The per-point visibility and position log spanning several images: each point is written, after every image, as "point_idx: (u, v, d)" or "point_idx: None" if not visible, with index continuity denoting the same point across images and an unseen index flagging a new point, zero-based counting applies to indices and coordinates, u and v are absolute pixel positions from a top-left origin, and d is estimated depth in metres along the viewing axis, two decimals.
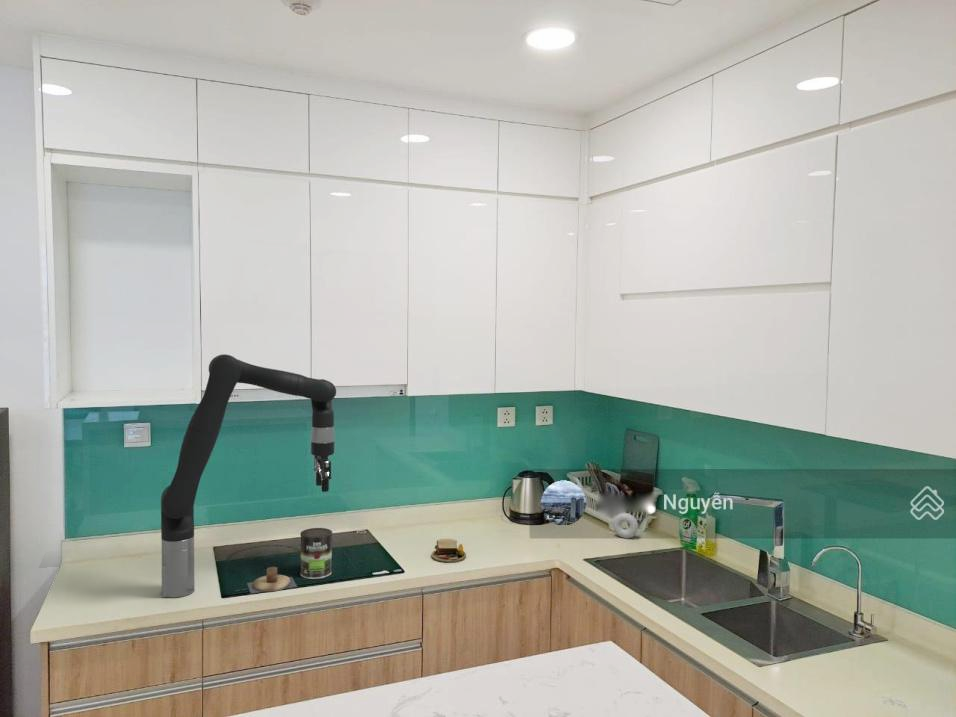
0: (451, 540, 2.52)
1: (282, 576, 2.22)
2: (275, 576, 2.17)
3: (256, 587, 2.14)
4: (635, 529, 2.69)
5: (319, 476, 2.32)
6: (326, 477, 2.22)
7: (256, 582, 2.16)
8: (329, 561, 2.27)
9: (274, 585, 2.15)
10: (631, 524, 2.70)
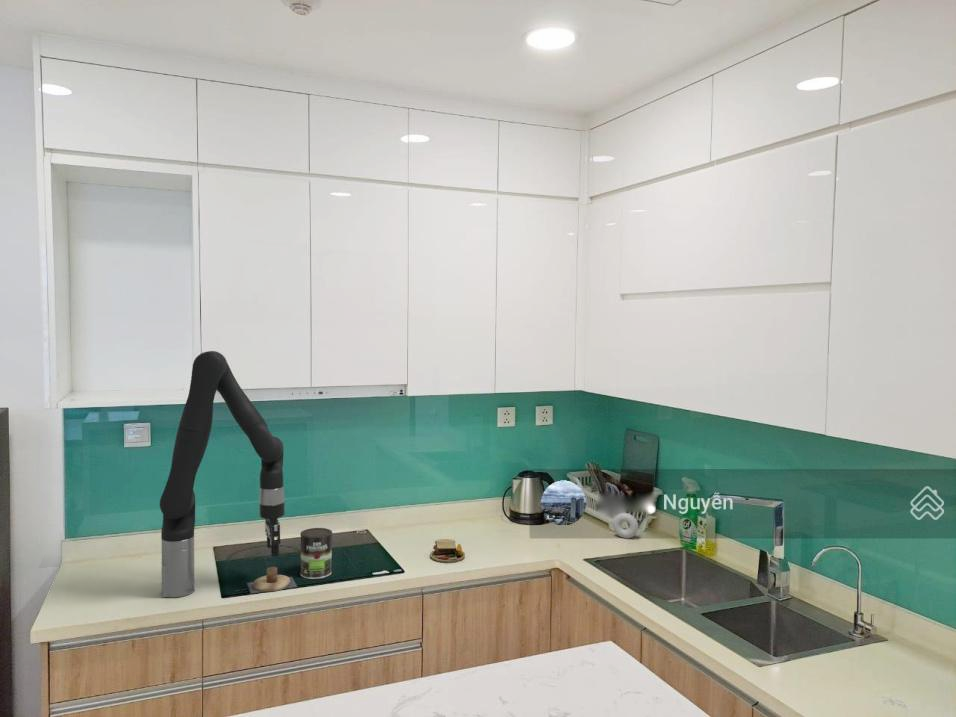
0: (449, 540, 2.52)
1: (282, 576, 2.22)
2: (275, 576, 2.17)
3: (256, 587, 2.14)
4: (635, 529, 2.69)
5: (270, 538, 2.21)
6: (275, 542, 2.11)
7: (256, 582, 2.16)
8: (329, 561, 2.27)
9: (274, 585, 2.15)
10: (631, 524, 2.70)
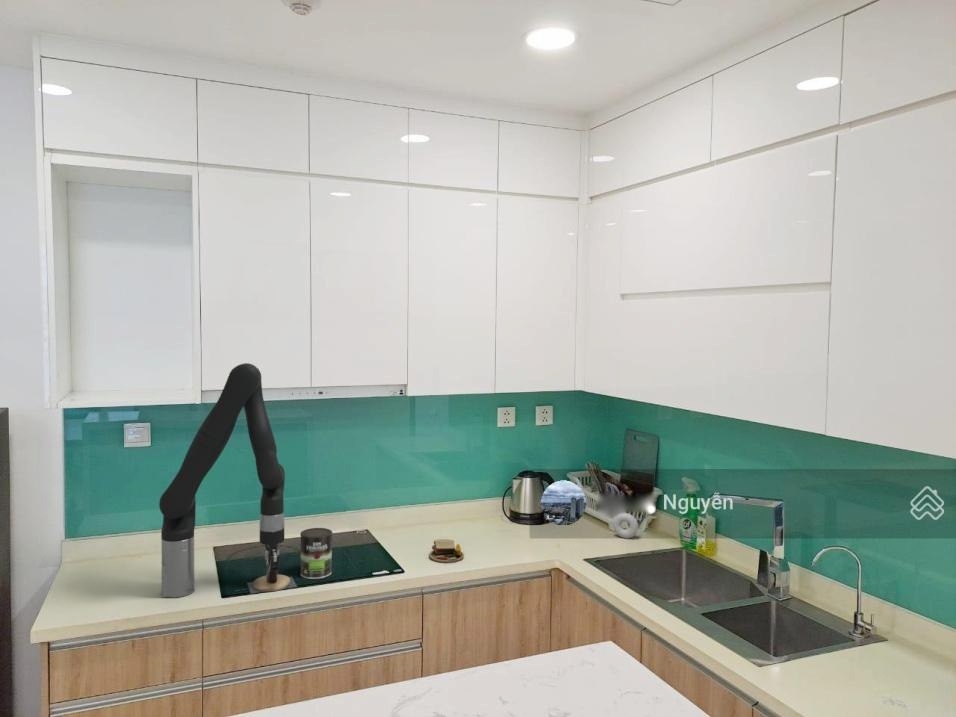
0: (448, 540, 2.52)
1: (282, 576, 2.22)
2: None
3: (256, 587, 2.14)
4: (635, 529, 2.69)
5: None
6: (273, 569, 2.13)
7: (256, 582, 2.16)
8: (329, 561, 2.27)
9: (274, 584, 2.15)
10: (631, 524, 2.70)
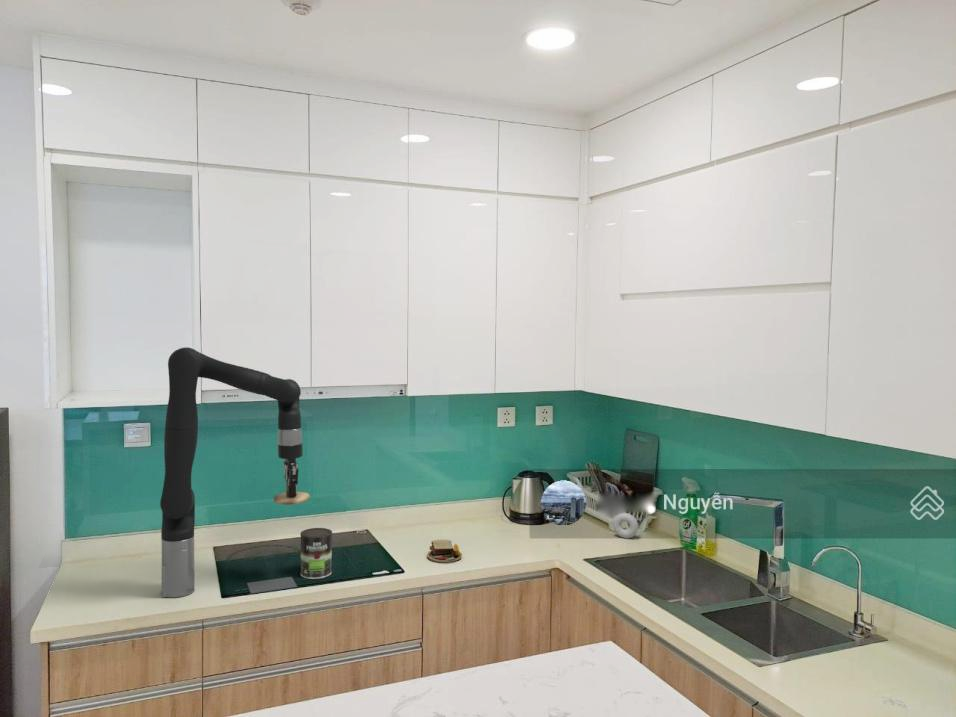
0: (446, 540, 2.52)
1: (301, 492, 2.24)
2: None
3: (276, 501, 2.16)
4: (635, 529, 2.69)
5: None
6: (292, 482, 2.16)
7: (276, 497, 2.19)
8: (329, 561, 2.27)
9: (294, 498, 2.17)
10: (631, 524, 2.70)
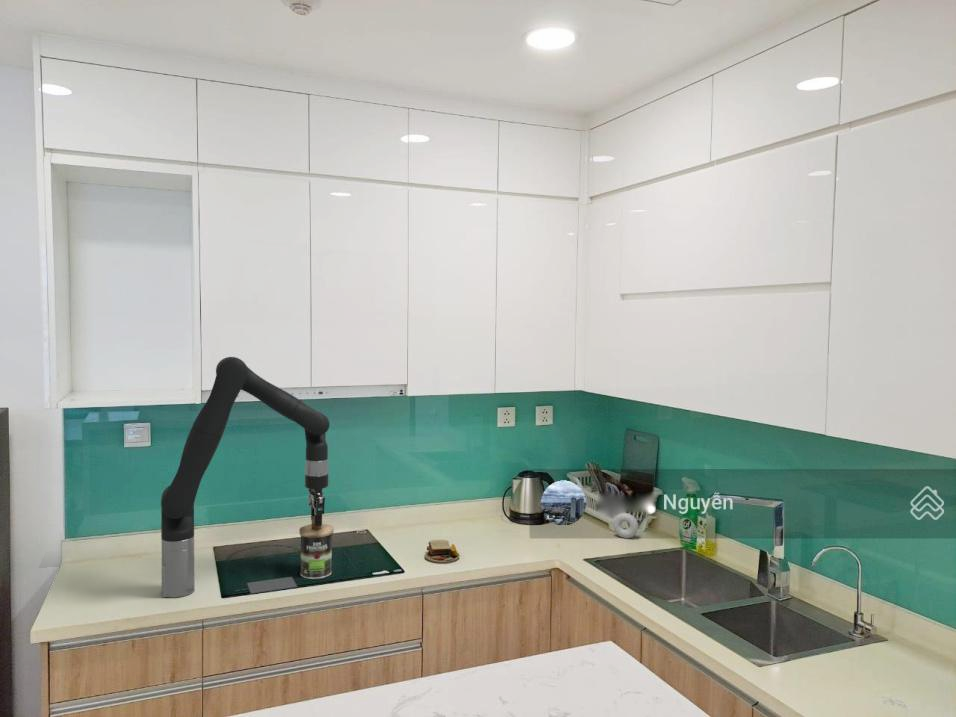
0: (443, 541, 2.52)
1: (325, 525, 2.32)
2: None
3: (302, 533, 2.24)
4: (635, 529, 2.69)
5: (314, 511, 2.30)
6: (319, 512, 2.22)
7: (302, 529, 2.27)
8: (329, 561, 2.27)
9: (320, 531, 2.25)
10: (631, 524, 2.70)
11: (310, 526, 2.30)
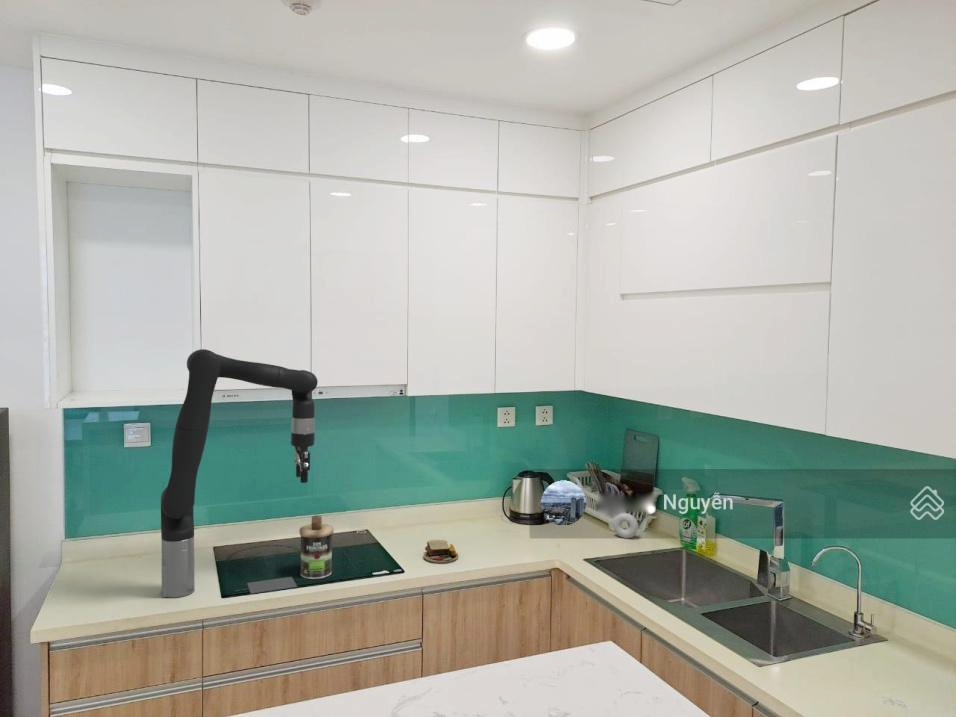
0: (441, 541, 2.52)
1: (325, 525, 2.32)
2: (320, 524, 2.27)
3: (302, 533, 2.24)
4: (635, 529, 2.69)
5: (299, 467, 2.31)
6: (305, 468, 2.21)
7: (302, 529, 2.27)
8: (329, 561, 2.27)
9: (320, 531, 2.25)
10: (631, 524, 2.70)
11: (310, 526, 2.30)
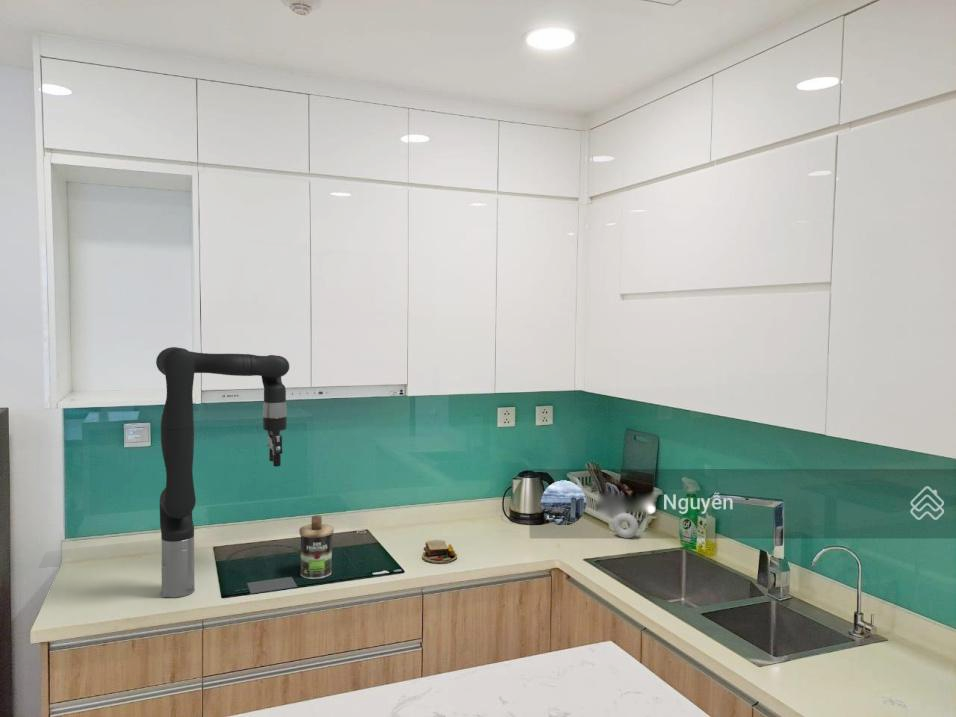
0: (440, 541, 2.51)
1: (325, 525, 2.32)
2: (320, 524, 2.27)
3: (302, 533, 2.24)
4: (635, 529, 2.69)
5: (272, 452, 2.33)
6: (277, 452, 2.23)
7: (302, 529, 2.26)
8: (329, 561, 2.27)
9: (320, 531, 2.25)
10: (631, 524, 2.70)
11: (310, 526, 2.30)
